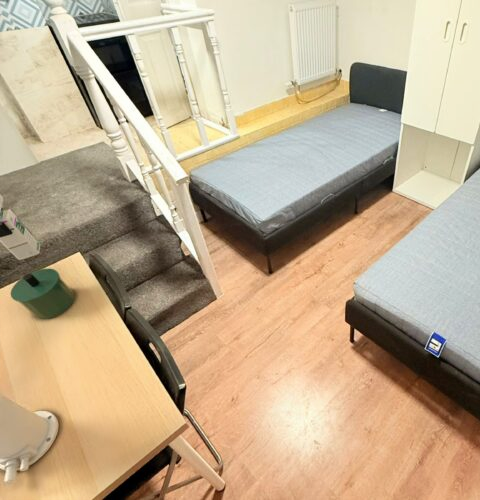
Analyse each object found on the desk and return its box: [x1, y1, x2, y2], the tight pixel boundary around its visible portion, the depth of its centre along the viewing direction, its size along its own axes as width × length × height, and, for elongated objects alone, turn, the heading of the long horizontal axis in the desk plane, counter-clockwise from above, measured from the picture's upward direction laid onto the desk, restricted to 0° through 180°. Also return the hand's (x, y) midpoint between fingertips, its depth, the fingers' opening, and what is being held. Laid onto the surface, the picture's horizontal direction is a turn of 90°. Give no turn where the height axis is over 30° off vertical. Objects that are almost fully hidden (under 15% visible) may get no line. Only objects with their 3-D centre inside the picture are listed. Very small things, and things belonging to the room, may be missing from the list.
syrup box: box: [0, 208, 41, 261], centre depth 99 cm, size 6×6×14 cm
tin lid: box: [10, 268, 61, 303], centre depth 100 cm, size 13×13×5 cm
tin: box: [19, 277, 76, 320], centre depth 104 cm, size 12×12×10 cm
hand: (7, 228), depth 98 cm, fingers closed on syrup box, 5 cm apart
